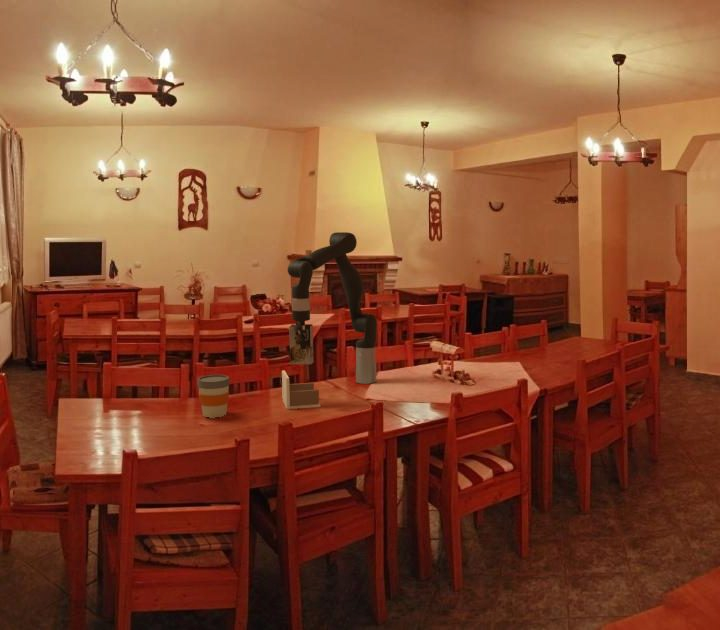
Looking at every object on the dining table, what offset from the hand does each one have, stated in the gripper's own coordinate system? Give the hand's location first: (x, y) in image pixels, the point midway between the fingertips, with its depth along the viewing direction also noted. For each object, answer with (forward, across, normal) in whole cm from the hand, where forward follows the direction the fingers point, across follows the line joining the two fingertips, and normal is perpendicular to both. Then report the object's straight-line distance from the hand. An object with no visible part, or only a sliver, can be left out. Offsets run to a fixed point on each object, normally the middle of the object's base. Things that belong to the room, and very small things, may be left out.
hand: (301, 347), depth 268 cm
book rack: (+24, 0, +1) cm, 24 cm away
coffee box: (+7, 0, 0) cm, 7 cm away
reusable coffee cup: (+24, -8, +37) cm, 45 cm away
